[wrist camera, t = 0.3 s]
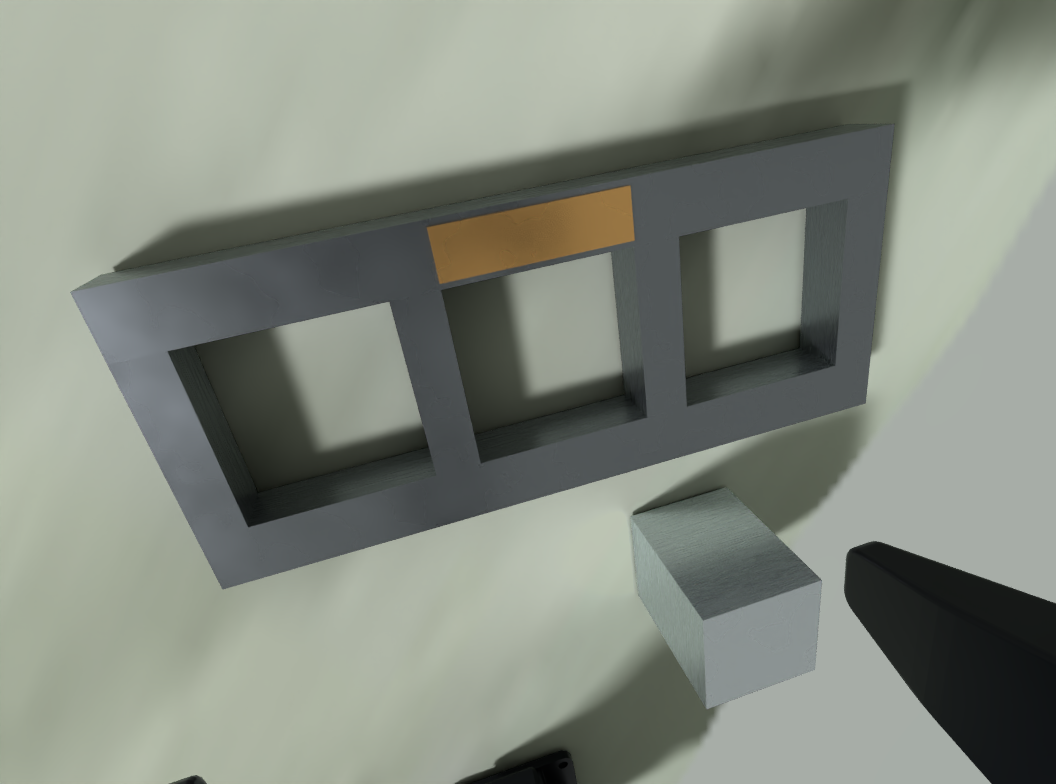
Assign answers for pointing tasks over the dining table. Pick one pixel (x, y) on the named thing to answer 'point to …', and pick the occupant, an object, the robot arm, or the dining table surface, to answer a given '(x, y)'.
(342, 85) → the dining table surface
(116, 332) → the grey slotted frame
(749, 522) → the steel block
